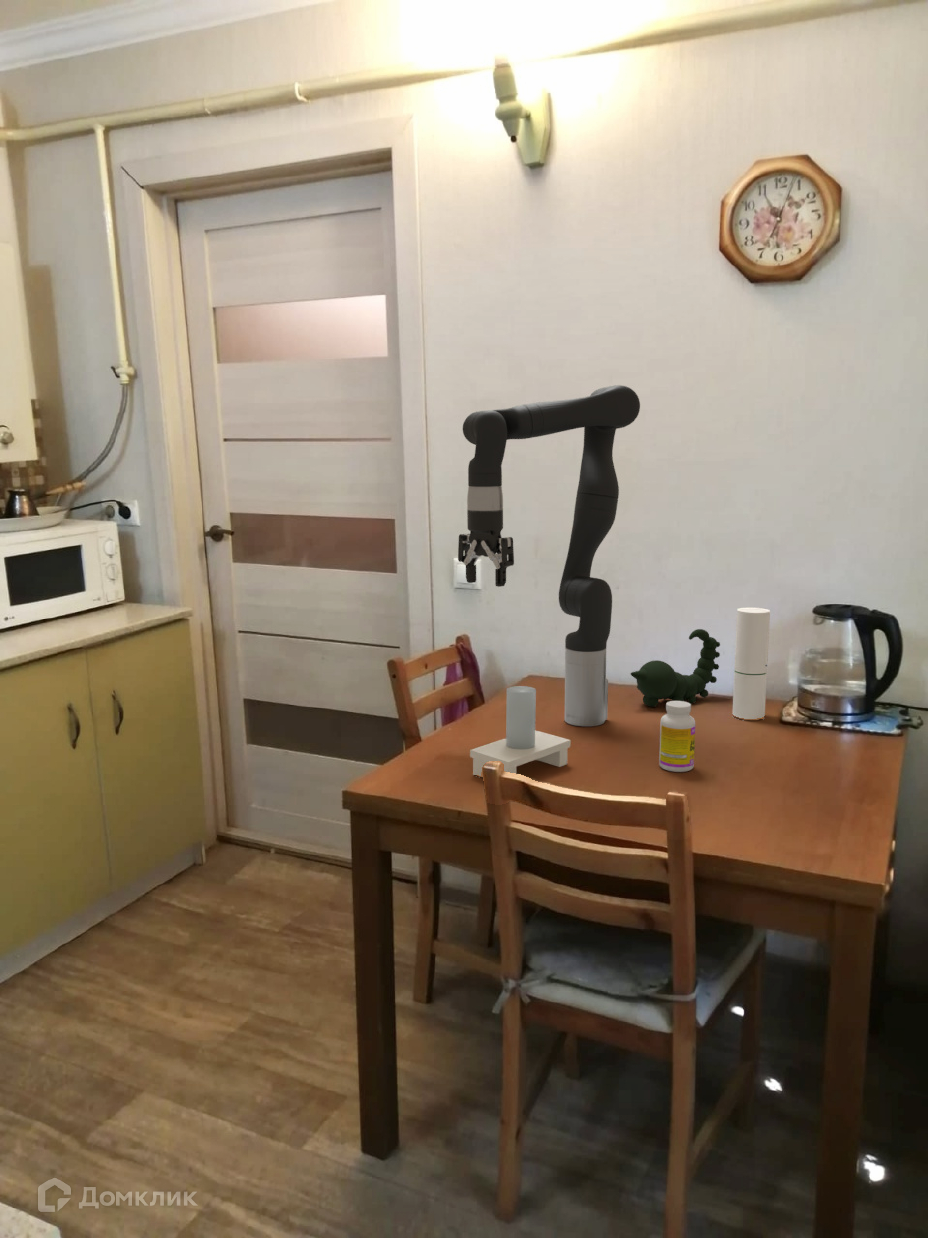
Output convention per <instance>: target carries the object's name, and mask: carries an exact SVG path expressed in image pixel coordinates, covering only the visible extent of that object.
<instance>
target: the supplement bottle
mask: <svg viewBox="0 0 928 1238" xmlns="http://www.w3.org/2000/svg"><path fill="white" fill-rule="evenodd" d="M665 710H666V713H665V714H664V715H662V716H661V718H660V722H659V723H660V729H659V756H658V757H659V759H658V761H659V762H658V763H659V767H660V768H661V769H663V770H666V771H668V772H673V773H685V772H688V771H691V770H692V769H693V768H694V765H695V745H696V744H695V742H696V720H695V718H694V717H693V716H691V715H690V712H691V711H692V703H689V702H688V701H685V700H683V701H672V700H670V701H667V702H666V704H665Z"/></svg>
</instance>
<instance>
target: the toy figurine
mask: <svg viewBox="0 0 928 1238" xmlns="http://www.w3.org/2000/svg"><path fill="white" fill-rule="evenodd" d="M694 638H698V639H699V641H700V640H701V641H702V648H701V649H700V651H699V652H700V653H699V654H700V656H699V657H700V658H699V659H698V660H697V662H696V666H697V667H696V668H695V669H694V670H693V672H692V674H691V673H690V675H688V674H682V673H680V672H677V671H675V669H674V668H673V667H672V666H671V664H669V663H667V662H665V661H662V660H650V661H648V662H646V663H645V664H642V666H640V669H639V670H634V671H632V672H630V676H631V677H633V678H634V679H635V680H636V688H637V690H639V692H640V693H641V695H643V697H642V702H643V703H644V705H645V706H647V707H649V708H655V707H656V706H658V704H659V701H660V700H670V701H687V702H688V703H690V704H692V703H693V704H695V703H696V702H697V697H696V696H697V695H699V696H700V697H702V698H706V697H708V696H709V691H708V690H707V689H706V687H707V685H708V684H709V683H711V684H715V683H716V682H717V681H718V679H717V677H716V676H715V675H713V671H714V670H715V671H717V670H719V668H720V665H719V664H718V663H716V661H715V660H716V659H717V658H719V657H720V656H721V653H720V652H719V651H717V650H716V649H717V648H719V647H720V646H721V642H719V641H717V639H716V638H714V637H711V636H710V633H709V631H707V630H706V629H702V628H699V629H698V628H697V629H695V630H693V631H692V632H690V634H689V637H688V640H690V641H691V640H693V639H694Z"/></svg>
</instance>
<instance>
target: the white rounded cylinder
mask: <svg viewBox="0 0 928 1238" xmlns="http://www.w3.org/2000/svg"><path fill="white" fill-rule="evenodd" d="M536 698H537V689H536V688H534V687H532V686H527V685H516V686H515V685H513V686H510V687H507V688H506V706H505V707H506V718H505V719H506V720H505V721H506V723H505V725H506V726H505V727H506V730H505V732H506V734H505V738H506V745H507V746H508V747H510V748H513V749H530V748H533V747H534V746H535V730H536V715H537V714H536V708H537V707H536V703H537V702H536V701H537V699H536Z"/></svg>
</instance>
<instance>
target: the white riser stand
mask: <svg viewBox="0 0 928 1238" xmlns="http://www.w3.org/2000/svg"><path fill="white" fill-rule="evenodd" d="M568 748H571V739H570V738H569V739H568V738H565V737H561V736H557V735H554V734H550V733H548V732H547V733H546V732H543V731H539V730H536V729H535V746H534V747H533V748H530V749H513V748H510V747H508V746H507V745H506V737H505V738H502V739H498V740H496V741H493V742H490V743H486V744H484V745H481V746H477V747H475V748H472V749H470V750H469V758H472V775H473V776H474V775H479V776H481V772H482V767H483V765H484V764H485V763H486V762H489V761H501V762H502V763H503V764H504V771H505V772H510V773H516V774H517V767H519V766H522V765H524V764H527V763H529V762H533V761H539V762H541V763H545V764H549V765H552V766H555V767H558V768H561V767H563V766H565V765H568Z"/></svg>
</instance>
